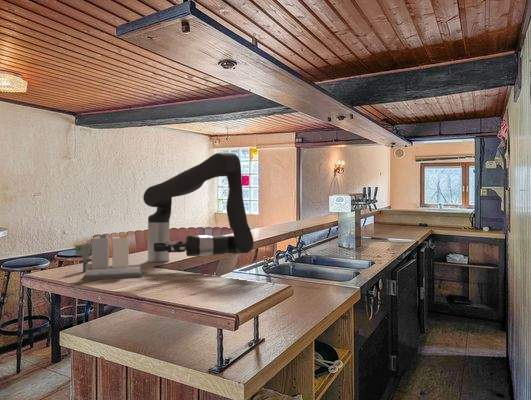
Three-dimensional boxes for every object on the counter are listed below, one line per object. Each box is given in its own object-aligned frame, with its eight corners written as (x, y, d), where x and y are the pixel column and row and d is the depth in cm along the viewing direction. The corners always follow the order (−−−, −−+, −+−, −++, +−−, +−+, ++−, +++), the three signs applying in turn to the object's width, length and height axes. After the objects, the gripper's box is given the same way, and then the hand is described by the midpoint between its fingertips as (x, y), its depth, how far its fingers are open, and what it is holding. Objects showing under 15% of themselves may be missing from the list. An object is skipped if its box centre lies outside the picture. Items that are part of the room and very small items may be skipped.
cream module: (113, 271, 134) (113, 234, 134) (128, 270, 136) (128, 234, 136) (112, 273, 130) (112, 235, 130) (127, 272, 131) (128, 234, 132)
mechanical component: (96, 269, 147) (96, 243, 147) (81, 273, 137) (81, 245, 137) (89, 269, 147) (89, 243, 148) (73, 273, 137) (73, 245, 137)
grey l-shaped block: (88, 274, 135) (88, 234, 135) (141, 271, 140) (142, 233, 141) (83, 280, 124) (83, 236, 124) (141, 277, 129) (142, 235, 129)
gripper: (197, 234, 148) (153, 235, 143) (202, 236, 135) (154, 238, 130) (197, 253, 148) (153, 255, 143) (202, 258, 134) (154, 260, 130)
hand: (153, 247), depth 136 cm, fingers open, 8 cm apart
